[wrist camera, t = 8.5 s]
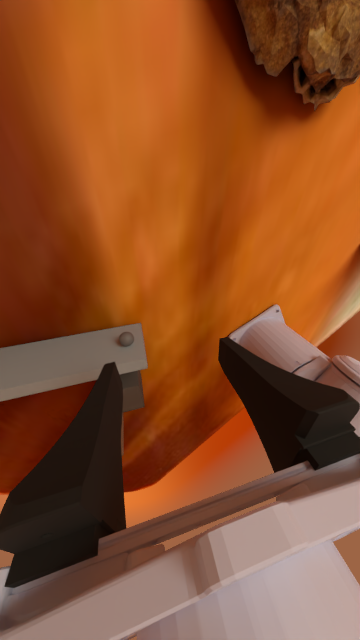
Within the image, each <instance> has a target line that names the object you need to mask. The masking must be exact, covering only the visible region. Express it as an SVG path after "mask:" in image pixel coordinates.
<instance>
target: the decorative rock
mask: <svg viewBox="0 0 360 640" xmlns="http://www.w3.org/2000/svg"><path fill="white" fill-rule="evenodd" d="M235 3H236V5H237V8H238V10H239V13H240V16H241V19H242V22H243V25H244V28H245V32H246V36H247V40H248V44H249V48H250V51H251V52H252V53H253V54H254V57H255V62H256V64H257V65H259V64H263V65H264V67H265V70H266V72H267V74H269V75H272V76H275V77H277V75H278V74H279V73H280V72H281V71H282V70H283V69H284V68H285V66H286V65H287V64H288V63H289V62H290V61H291V62H292V63H293V66H294V72H293V78H294V90H295V93H301V94H302V98H303V104H306V103H308V102H311V103H313V104H314V111H315V110H316V108H317V106H318V105H319V104H321V103H327V102H330V101H331V100H333V99H334V98H336V96H337V95H338V93H339V92H340V91H341V89H342V88H343V87H344V86H347V85H350V84H354V83H355V82H356V80H357V79H358V78H359V76H360V0H235ZM301 66H302V70H300V68H301Z"/></svg>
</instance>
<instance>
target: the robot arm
mask: <svg viewBox="0 0 360 640" xmlns="http://www.w3.org/2000/svg"><path fill="white" fill-rule="evenodd" d="M276 310H277V311H276ZM218 360H219V362H220V365H221V367H222V369H223V371H224V373H225V375H226V376H227V378H228V380H229V381H230V383H231V384H232V386H233V388H234V389H235V391H236V392H237V394H238V395H239V397H240V399H241V400H242V402H243V404H244V406H245V408H246V409H247V412H248V414H249V416H250V418H251V419H252V422H253V424H254V426H255V428H256V430H257V432H258V435H259V437H260V439H261V441H262V444H263V446H264V448H265V451H266V453H267V456H268V458H269V460H270V463H271V465H272V468H273V470H274V473H273V474H270V475H268V476H265V477H262V478H260V479H257V480H254V481H252V482H249V483H247V484H244V485H241V486H239V487H236V488H233V489H231V490H228V491H225V492H223V493H220V494H217V495H215V496H212V497H209V498H207V499H204V500H201V501H199V502H196V503H193V504H191V505H188V506H185V507H183V508H180V509H177V510H175V511H172V512H169V513H167V514H164V515H162V516H159V517H156V518H153V519H151V520H148V521H145V522H143V523H140V524H137V525H135V526H132V527H129V528H127V529H126V520H125V506H124V491H123V475H122V453H121V428H122V411H123V387H122V381H121V378H120V375H119V372H118V369H117V366H116V363H115V362H111V363H107V364H105V365H104V366H103V368H102V371H101V373H100V375H99V377H98V379H97V381H96V383H95V385H94V387H93V389H92V391H91V392H90V394H89V396H88V398H87V399H86V401H85V403H84V404H83V406H82V408H81V409H80V411H79V412H78V414H77V415H76V417H75V418H74V420H73V421H72V423H71V424H70V425H69V427H68V428H67V429H66V431H65V432H64V433H63V435H62V436H61V437H60V439H59V440H58V441H57V442H56V444H55V445H54V446H53V447H52V448H51V449H50V451H49V452H48V453H47V454H46V455H45V456H44V457H43V459H42V460H41V461H40V462H39V463H38V464H37V465H36V467H35V468H34V469H33V470H32V471H31V472H30V473H29V474H28V475H27V476H26V477H25V478H24V479H23V480H22V481H21V482H20V483H19V484H18V485H17V486H16V487H15V488H14V489H13V490H12V491H11V492H10V493H9V496H8V498H7V500H6V503H5V504H4V507H3V509H2V511H1V514H0V550H4V551H7V552H10V553H13V554H14V557H13V560H12V564H11V566H8V567H2V568H0V640H129V639H131V638H133V637H135V636H137V640H360V586H359V584H358V583H357V581H356V579H355V578H354V576H353V574H352V573H351V571H350V570H349V568H348V566H347V565H346V563H345V561H344V560H343V558H342V557H341V555H340V553H339V552H338V550H337V549H336V547H335V545H334V544H333V542H334V541H336V540H338V539H340V538H342V537H344V536H346V535H348V534H350V533H352V532H354V531H356V530H358V529H360V362H359V361H357V360H355V359H353V358H351V357H349V356H338V355H337V356H335V357H334V358H333V359H331V358H329V357H328V356H327V355H325V354H324V353H322V352H321V351H320V350H319V349H317V348H316V347H315V346H313V345H312V344H311V343H309V342H308V341H307V340H305V339H304V338H303V337H301V336H300V335H299V334H297V333H296V332H295V331H293V330H292V329H291V328H289V327H288V326H287V325H285V322H284V319H283V316H282V313H281V310H280V307H279V306H278V305H274V306H272V307H271V308H269V309H268V310H266V311H265V312H263V313H262V314H260V315H259V316H257V317H256V318H254V319H253V320H251V321H250V322H248V323H246V324H245V325H243V326H242V327H240V328H239V329H237V330H236V331H234V332H233V333H231V334H230V335H229V337H225V338H220V342H219V357H218ZM278 495H279V496H278ZM276 496H277V497H276ZM273 497H276V502H273V503H270V504H268V505H266V506H263V507H260V508H258V509H255V510H253V511H250V512H248V513H246V514H243V515H241V516H238V517H236V518H233V519H231V520H229V521H226V522H223V523H221V524H219V525H216V526H214V527H212V528H210V529H208V530H207V531H205V532H203V533H201V534H199V535H197V536H195V537H193V538H191V539H189V540H187V541H185V542H183V543H181V544H179V545H177V546H175V547H172V548H171V549H168V550H167V551H165V548H164V545H163V544H160V545H156V544H159V543H161V542H164V541H166V540H169V539H171V538H174V537H176V536H179V535H181V534H184V533H186V532H188V531H191V530H193V529H196V528H198V527H201V526H203V525H206V524H208V523H211V522H213V521H216V520H218V519H221V518H223V517H226V516H228V515H231V514H233V513H236V512H238V511H241V510H243V509H246V508H248V507H251V506H253V505H256V504H258V503H261V502H263V501H266V500H268V499H271V498H273ZM154 545H156V546H154Z"/></svg>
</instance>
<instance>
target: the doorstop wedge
mask: <svg viewBox="0 0 360 640" xmlns="http://www.w3.org/2000/svg"><path fill="white" fill-rule="evenodd" d="M120 378H121V381H122V387H123V411H122V413H123V412H127V411H131V410H135V409H138V408H142V407H144V398H143V389H142V379H141V374H140V370H137V371H133V372H128V373H124V374H120Z"/></svg>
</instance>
